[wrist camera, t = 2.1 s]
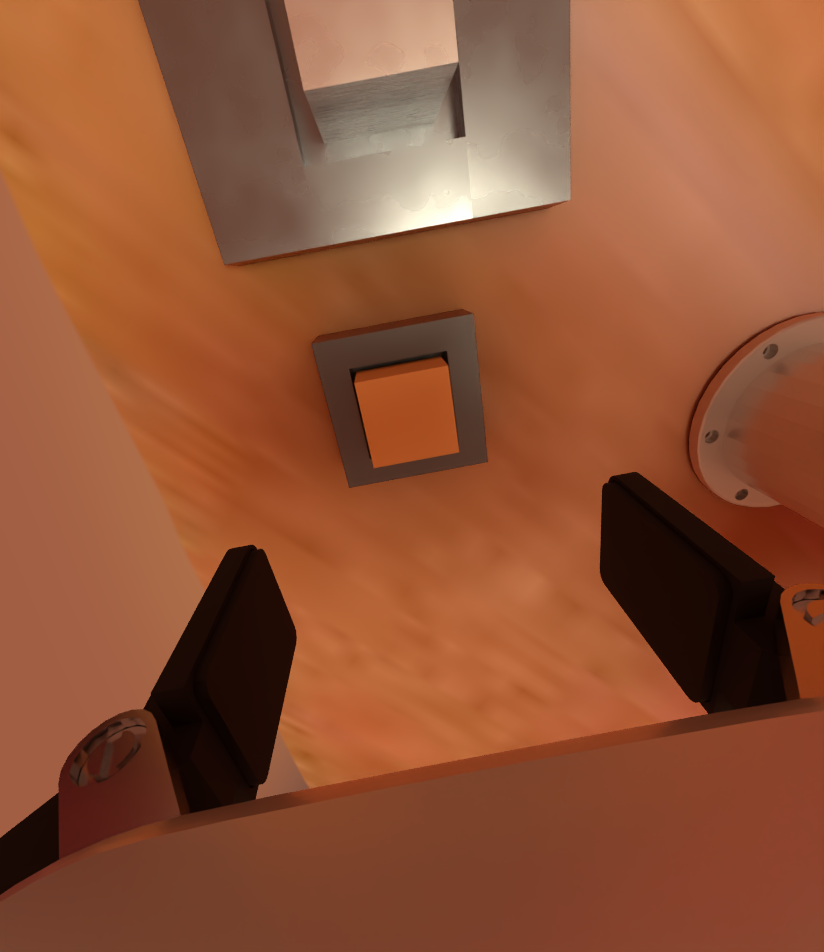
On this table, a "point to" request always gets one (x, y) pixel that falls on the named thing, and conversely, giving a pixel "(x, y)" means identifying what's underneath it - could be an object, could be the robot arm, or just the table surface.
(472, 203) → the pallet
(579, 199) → the table surface
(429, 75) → the seated billet
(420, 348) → the button housing
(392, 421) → the button
